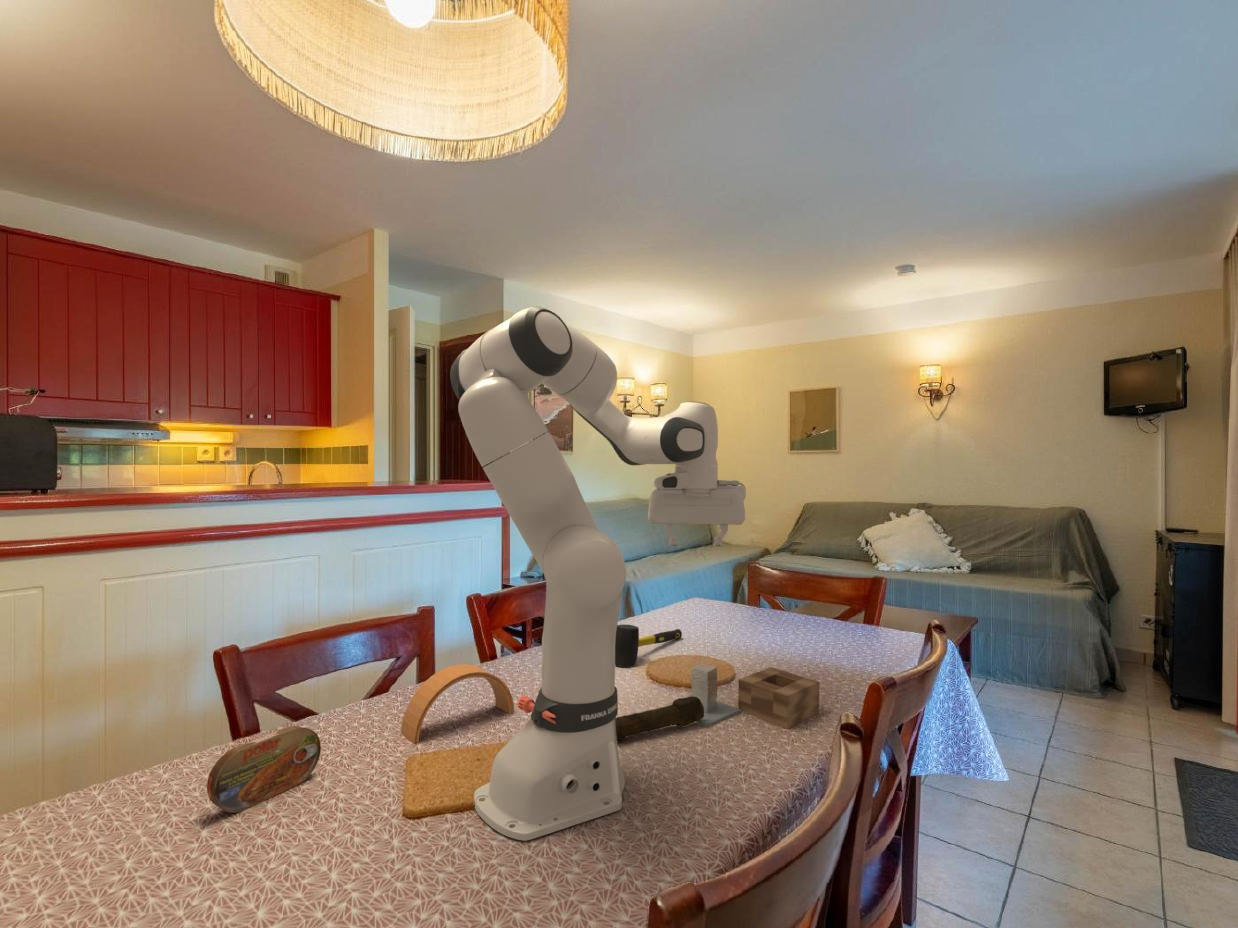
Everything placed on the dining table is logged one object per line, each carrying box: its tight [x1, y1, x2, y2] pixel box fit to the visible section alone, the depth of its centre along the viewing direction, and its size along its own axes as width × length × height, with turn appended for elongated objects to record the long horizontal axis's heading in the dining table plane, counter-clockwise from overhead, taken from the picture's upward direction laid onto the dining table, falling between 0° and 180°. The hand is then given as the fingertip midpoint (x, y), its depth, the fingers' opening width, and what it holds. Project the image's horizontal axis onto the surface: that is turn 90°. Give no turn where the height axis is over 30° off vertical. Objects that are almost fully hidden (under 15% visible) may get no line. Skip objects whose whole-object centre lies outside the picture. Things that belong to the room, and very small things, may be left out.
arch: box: [400, 663, 515, 745], centre depth 111 cm, size 6×20×10 cm, turn 131°
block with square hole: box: [737, 666, 820, 730], centre depth 117 cm, size 11×11×6 cm
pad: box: [695, 700, 742, 728], centre depth 117 cm, size 10×10×1 cm
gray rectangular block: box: [690, 663, 718, 714], centre depth 117 cm, size 4×4×8 cm
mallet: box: [615, 624, 683, 668], centre depth 153 cm, size 29×6×10 cm, turn 145°
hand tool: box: [615, 696, 704, 742], centre depth 108 cm, size 19×4×5 cm, turn 112°
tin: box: [206, 725, 322, 814], centre depth 87 cm, size 15×3×8 cm, turn 148°
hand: (695, 545), depth 125 cm, fingers open, 8 cm apart
